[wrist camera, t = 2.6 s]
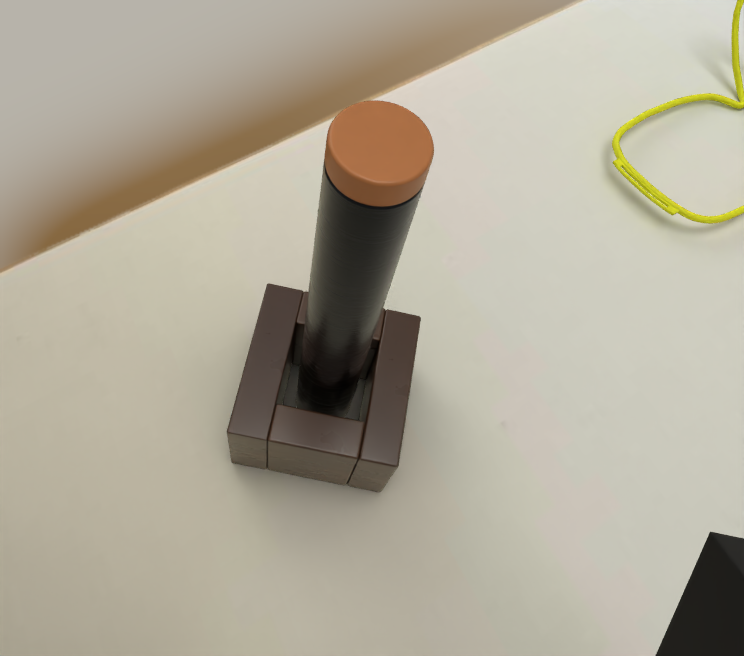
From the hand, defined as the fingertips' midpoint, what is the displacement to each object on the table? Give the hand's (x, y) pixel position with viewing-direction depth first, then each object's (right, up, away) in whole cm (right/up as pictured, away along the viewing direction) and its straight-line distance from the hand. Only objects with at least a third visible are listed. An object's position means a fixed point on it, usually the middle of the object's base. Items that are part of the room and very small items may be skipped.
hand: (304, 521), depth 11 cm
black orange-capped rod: (-1, 0, +17) cm, 17 cm away
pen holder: (-1, 0, +17) cm, 17 cm away
